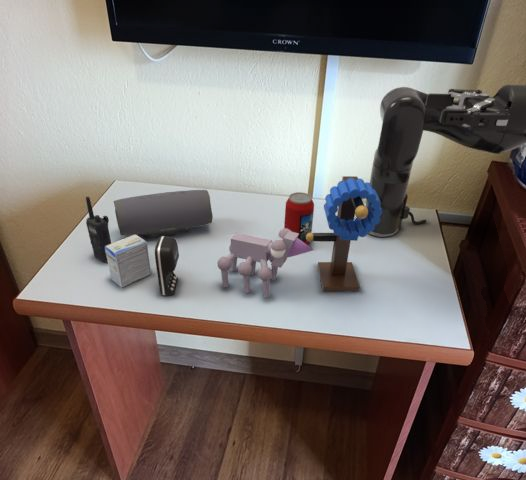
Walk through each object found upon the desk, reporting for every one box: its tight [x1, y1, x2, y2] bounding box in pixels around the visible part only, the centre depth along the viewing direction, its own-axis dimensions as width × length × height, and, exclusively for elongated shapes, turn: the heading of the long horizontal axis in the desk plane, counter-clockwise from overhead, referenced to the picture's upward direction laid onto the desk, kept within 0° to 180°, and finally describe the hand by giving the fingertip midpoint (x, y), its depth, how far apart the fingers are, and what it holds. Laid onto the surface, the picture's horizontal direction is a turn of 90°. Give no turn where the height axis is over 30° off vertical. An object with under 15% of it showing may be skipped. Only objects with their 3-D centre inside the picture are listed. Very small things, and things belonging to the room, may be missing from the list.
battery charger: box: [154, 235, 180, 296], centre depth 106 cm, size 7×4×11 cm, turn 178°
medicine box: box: [105, 234, 152, 288], centre depth 110 cm, size 8×4×9 cm, turn 135°
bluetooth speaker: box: [113, 189, 214, 237], centre depth 125 cm, size 23×9×10 cm, turn 108°
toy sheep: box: [217, 228, 314, 298], centre depth 107 cm, size 20×11×14 cm, turn 70°
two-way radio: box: [85, 196, 112, 263], centre depth 114 cm, size 6×4×15 cm
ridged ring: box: [323, 178, 382, 242], centre depth 98 cm, size 5×10×11 cm, turn 92°
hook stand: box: [306, 175, 368, 292], centre depth 104 cm, size 17×12×23 cm
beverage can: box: [283, 191, 315, 246], centre depth 122 cm, size 7×7×12 cm
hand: (433, 108), depth 86 cm, fingers open, 8 cm apart
